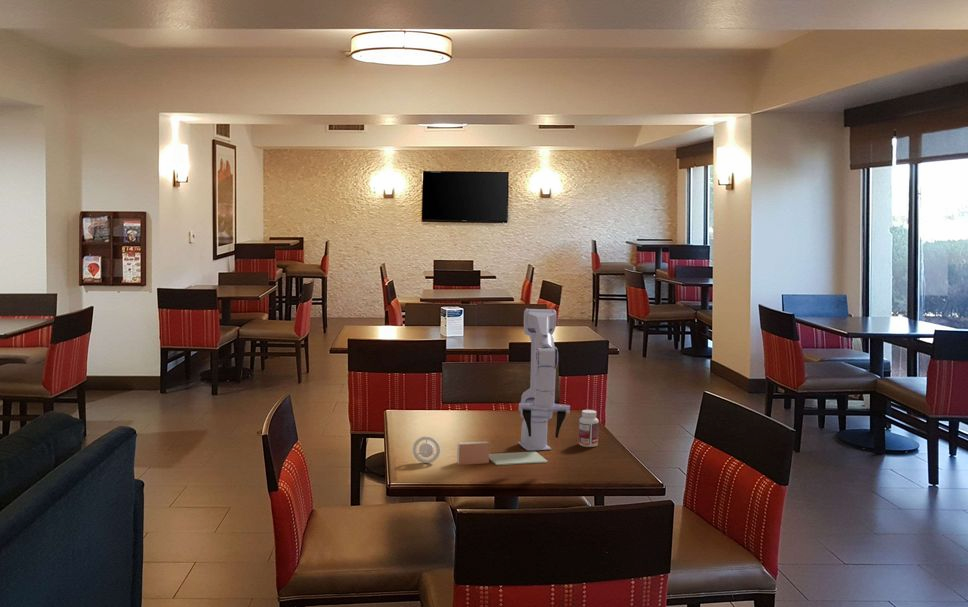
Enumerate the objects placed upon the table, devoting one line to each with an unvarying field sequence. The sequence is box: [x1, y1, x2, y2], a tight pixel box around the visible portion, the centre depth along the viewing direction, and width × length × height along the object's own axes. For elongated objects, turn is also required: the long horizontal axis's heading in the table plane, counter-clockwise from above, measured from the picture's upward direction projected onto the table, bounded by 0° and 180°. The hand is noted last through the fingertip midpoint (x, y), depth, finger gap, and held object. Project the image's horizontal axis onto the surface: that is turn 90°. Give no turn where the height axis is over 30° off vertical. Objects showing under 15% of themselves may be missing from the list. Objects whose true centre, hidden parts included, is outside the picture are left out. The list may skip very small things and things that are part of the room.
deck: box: [456, 440, 490, 466], centre depth 264 cm, size 2×9×6 cm, turn 106°
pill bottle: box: [578, 409, 600, 448], centre depth 288 cm, size 6×6×11 cm
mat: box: [489, 451, 549, 466], centre depth 270 cm, size 11×16×1 cm
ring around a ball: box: [412, 436, 441, 464], centre depth 261 cm, size 8×6×8 cm
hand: (543, 436), depth 258 cm, fingers open, 7 cm apart
